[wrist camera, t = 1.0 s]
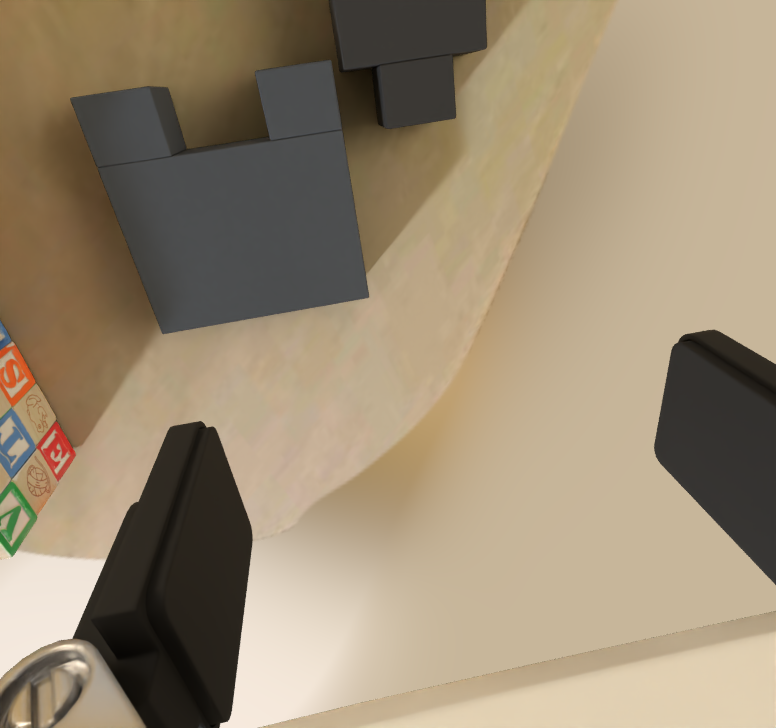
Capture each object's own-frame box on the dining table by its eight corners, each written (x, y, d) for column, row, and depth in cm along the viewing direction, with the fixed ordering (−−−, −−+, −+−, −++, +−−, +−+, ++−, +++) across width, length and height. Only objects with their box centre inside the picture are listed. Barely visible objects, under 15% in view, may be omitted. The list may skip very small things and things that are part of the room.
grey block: (97, 97, 26) (68, 98, 23) (328, 63, 26) (331, 59, 23) (176, 311, 31) (162, 334, 28) (363, 278, 32) (369, 298, 29)
